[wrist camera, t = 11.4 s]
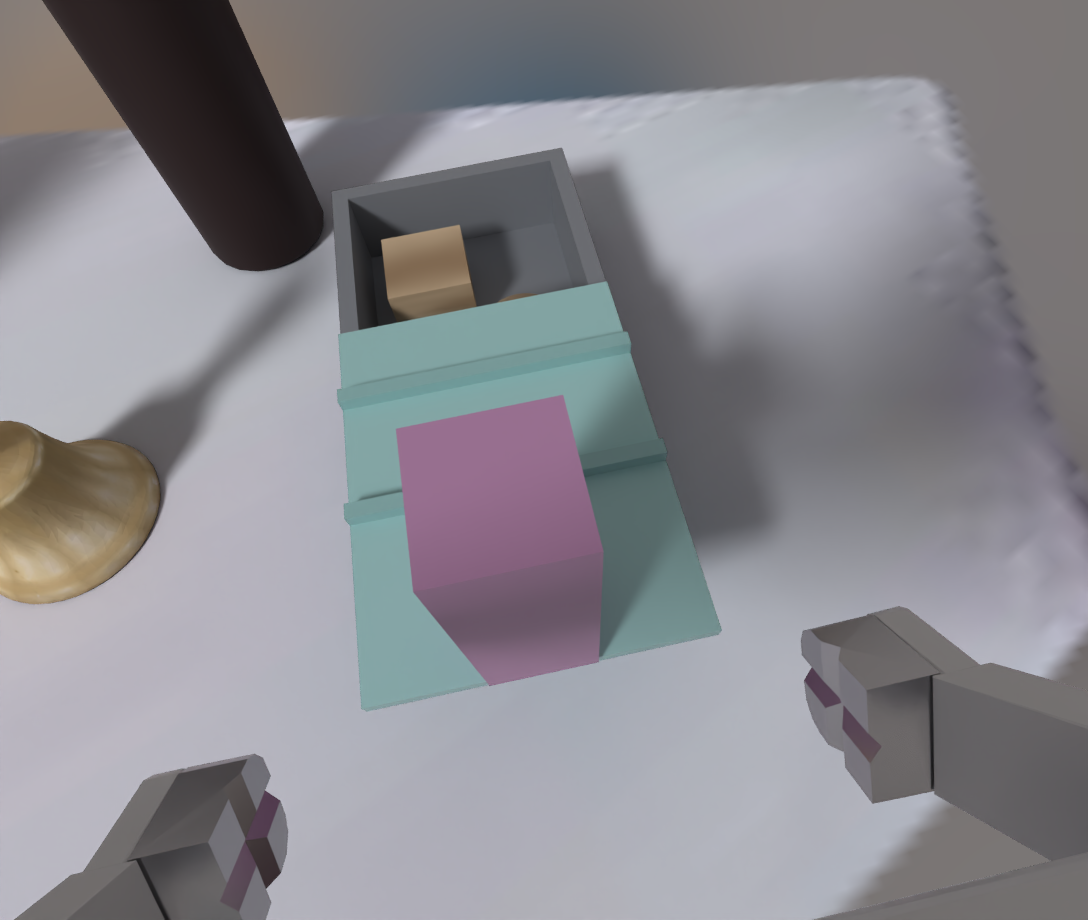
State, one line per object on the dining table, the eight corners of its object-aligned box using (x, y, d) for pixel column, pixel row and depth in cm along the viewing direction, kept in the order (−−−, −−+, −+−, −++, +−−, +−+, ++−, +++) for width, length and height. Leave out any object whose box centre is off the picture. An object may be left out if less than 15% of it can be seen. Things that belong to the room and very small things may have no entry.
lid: (343, 343, 28) (220, 112, 19) (606, 290, 29) (613, 40, 19) (367, 716, 21) (187, 640, 12) (719, 638, 21) (818, 505, 12)
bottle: (228, 196, 41) (-45, -265, 24) (334, 190, 41) (137, -283, 23) (201, 277, 38) (-138, -185, 20) (316, 272, 38) (72, -205, 20)
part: (396, 282, 36) (381, 239, 33) (469, 268, 36) (459, 224, 33) (403, 339, 34) (387, 298, 31) (480, 324, 34) (470, 282, 31)
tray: (360, 260, 38) (331, 191, 33) (565, 221, 38) (562, 147, 34) (382, 510, 30) (348, 461, 26) (637, 457, 31) (645, 401, 26)
